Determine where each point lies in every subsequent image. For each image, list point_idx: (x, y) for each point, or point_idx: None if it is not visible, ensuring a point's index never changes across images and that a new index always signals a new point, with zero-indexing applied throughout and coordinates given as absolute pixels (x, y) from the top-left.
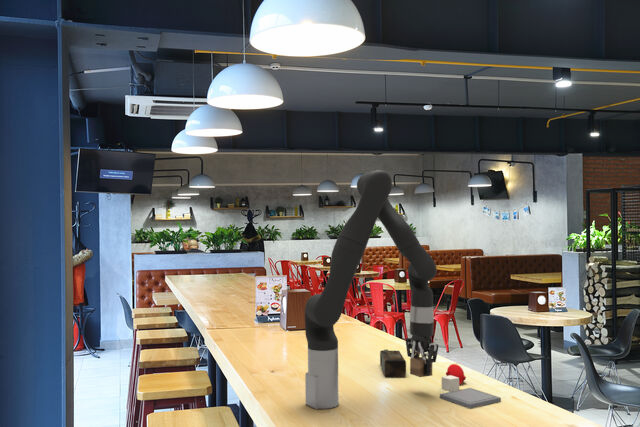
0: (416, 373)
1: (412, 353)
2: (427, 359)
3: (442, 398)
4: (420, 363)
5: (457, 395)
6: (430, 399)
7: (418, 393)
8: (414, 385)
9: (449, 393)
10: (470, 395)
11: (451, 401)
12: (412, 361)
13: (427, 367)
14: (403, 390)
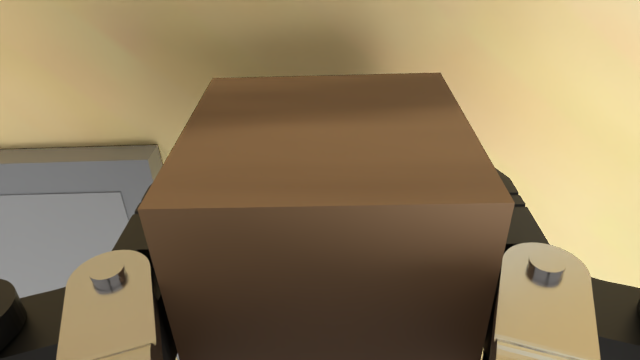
0: (291, 90)
1: (573, 352)
2: (57, 342)
3: (124, 146)
4: (155, 189)
5: (55, 237)
6: (145, 50)
7: (351, 74)
8: (556, 189)
9: (125, 223)
10: None
11: (18, 150)
12: (419, 174)
13: (123, 235)
14: (513, 12)
